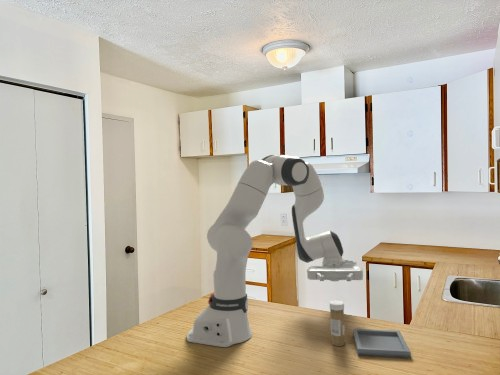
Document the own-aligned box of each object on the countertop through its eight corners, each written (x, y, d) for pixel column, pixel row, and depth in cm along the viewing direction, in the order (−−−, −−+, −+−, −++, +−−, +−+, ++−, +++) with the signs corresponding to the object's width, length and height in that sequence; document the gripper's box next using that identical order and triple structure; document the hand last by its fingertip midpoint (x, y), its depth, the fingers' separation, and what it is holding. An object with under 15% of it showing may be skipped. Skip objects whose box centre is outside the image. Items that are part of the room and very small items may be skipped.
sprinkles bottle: (348, 344, 119) (347, 302, 118) (338, 348, 116) (337, 305, 116) (337, 339, 123) (336, 299, 122) (327, 342, 120) (326, 302, 120)
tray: (357, 355, 111) (357, 348, 111) (353, 334, 126) (353, 328, 126) (410, 358, 108) (410, 351, 108) (399, 336, 123) (399, 330, 123)
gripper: (306, 261, 146) (305, 270, 133) (360, 261, 143) (364, 270, 129) (307, 277, 147) (306, 287, 133) (360, 277, 143) (365, 288, 129)
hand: (335, 279), depth 131 cm, fingers open, 8 cm apart
